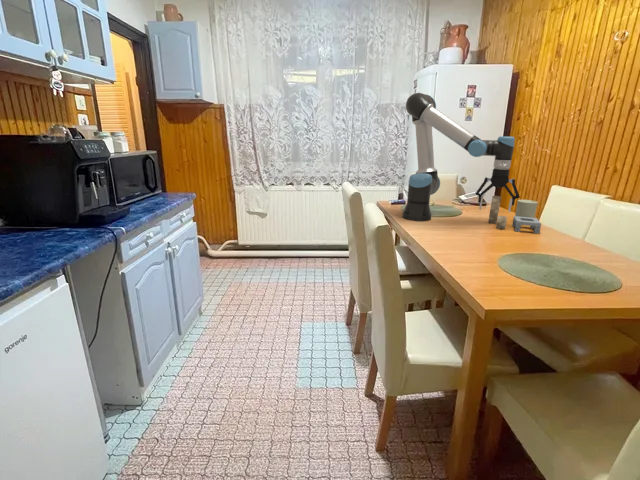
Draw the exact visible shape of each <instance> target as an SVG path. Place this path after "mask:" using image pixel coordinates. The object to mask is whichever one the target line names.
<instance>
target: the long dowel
mask: <svg viewBox="0 0 640 480" xmlns="http://www.w3.org/2000/svg"><path fill="white" fill-rule="evenodd" d="M501 201H502V196H500V195H492V197H491V203H490V210H489V216H488V221H487V222H488V224H491V225H493V224H494V225H497V220H498V216H499V212H500V207H501Z"/></svg>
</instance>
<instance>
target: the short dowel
mask: <svg viewBox="0 0 640 480" xmlns="http://www.w3.org/2000/svg"><path fill="white" fill-rule="evenodd" d="M507 220H508V216H506V215H498V218H497V223H496V225H495V226H496V227H495V228H496V230H503V231H504V230H506V226H507V223H508V222H507Z"/></svg>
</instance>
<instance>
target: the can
mask: <svg viewBox="0 0 640 480" xmlns="http://www.w3.org/2000/svg"><path fill="white" fill-rule="evenodd" d="M537 207H538V201H536V200H532V199H518V200H517V204H516V209H515V214H514V216H519V217H530V218H536V212H537Z"/></svg>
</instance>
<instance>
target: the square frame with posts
mask: <svg viewBox="0 0 640 480" xmlns="http://www.w3.org/2000/svg"><path fill="white" fill-rule="evenodd" d="M522 225H523V226H530V227H529V228H530V229H533V228H534V229H533V234H539V235H540V231H541V227H542V222H540V220H539V219H538V218H537V217H534V218H530V217H519V216H515V215H514V216H513V219H512V224H511V226H512V227H514V232H517V233H521V229H522V228H521V227H522Z"/></svg>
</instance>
